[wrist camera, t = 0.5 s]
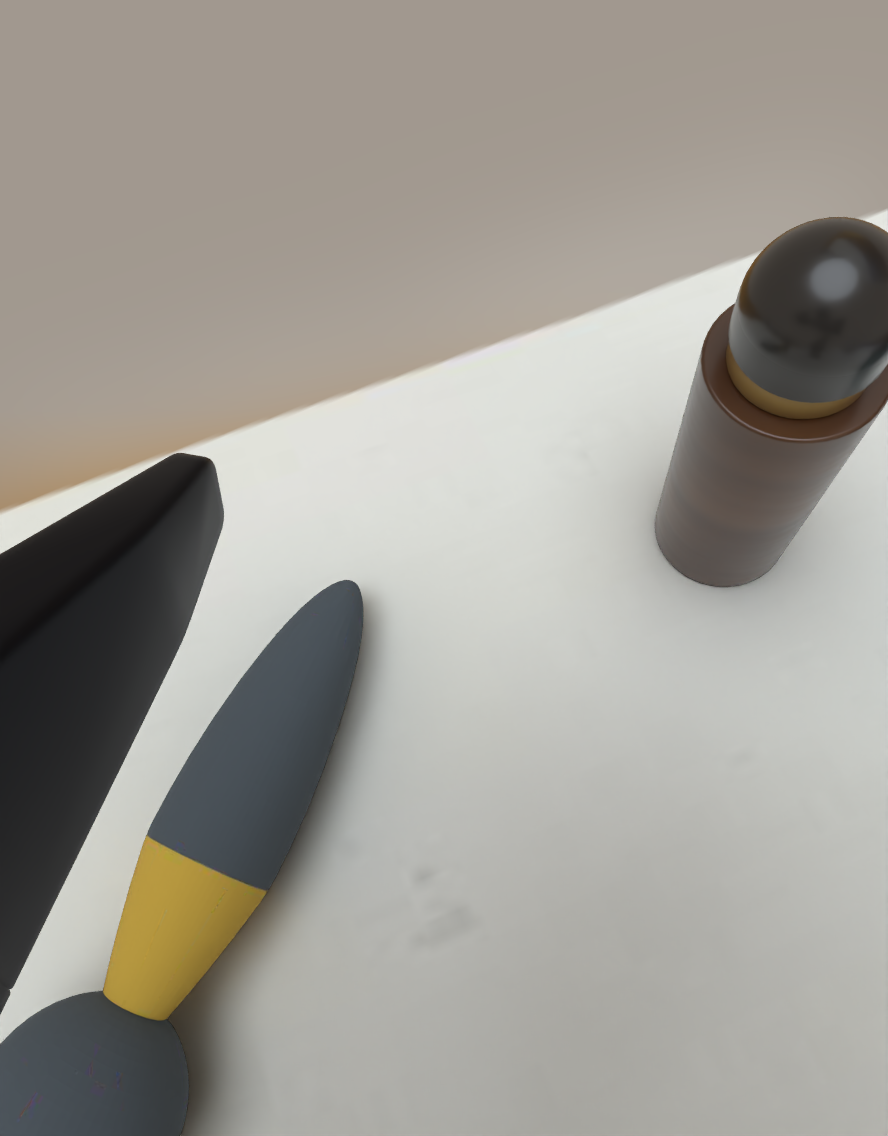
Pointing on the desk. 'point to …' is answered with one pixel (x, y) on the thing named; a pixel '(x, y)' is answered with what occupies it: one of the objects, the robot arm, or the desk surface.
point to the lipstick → (778, 400)
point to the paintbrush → (190, 891)
